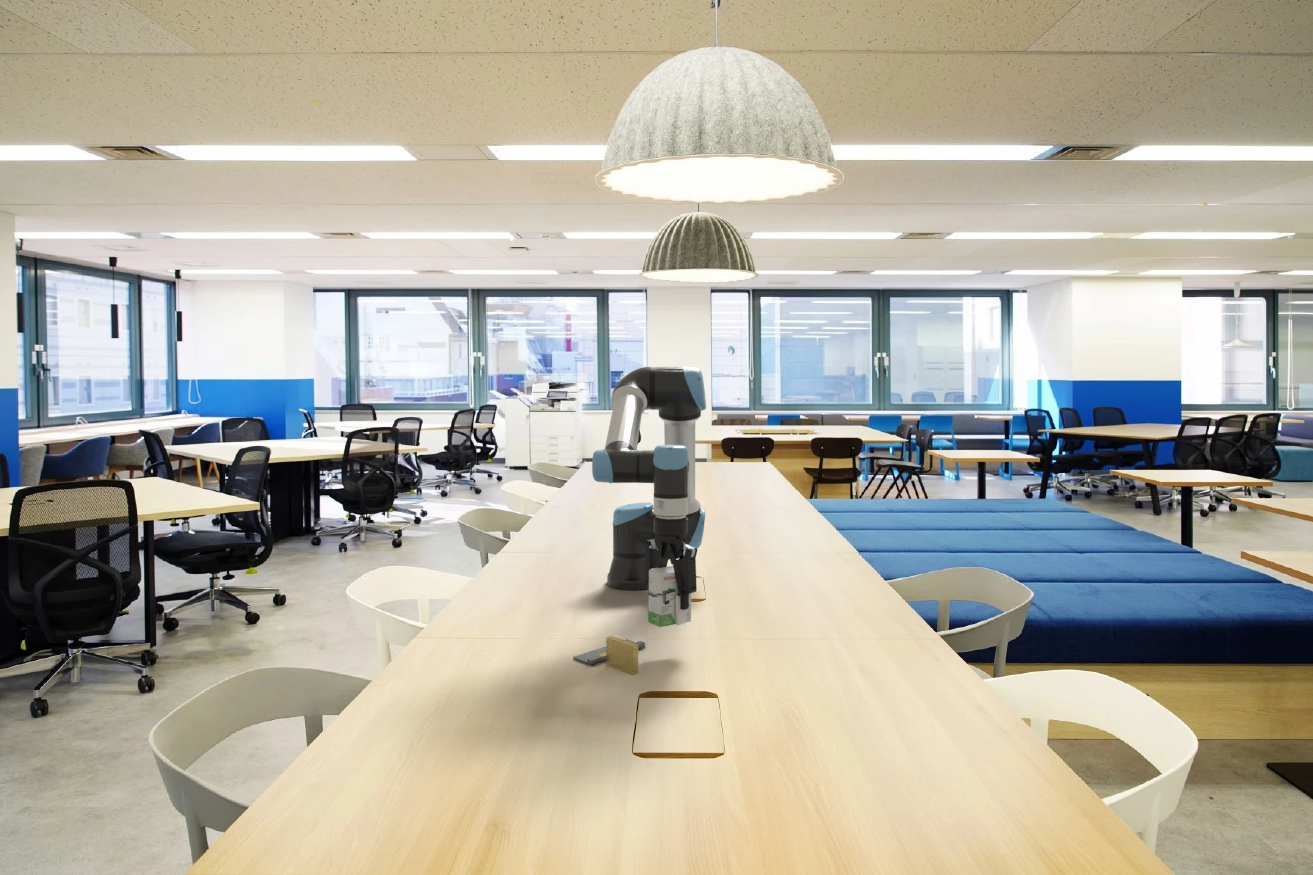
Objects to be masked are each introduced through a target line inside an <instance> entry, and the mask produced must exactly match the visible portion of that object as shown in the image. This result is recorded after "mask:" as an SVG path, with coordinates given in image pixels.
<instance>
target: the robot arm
mask: <svg viewBox="0 0 1313 875" xmlns="http://www.w3.org/2000/svg"><path fill="white" fill-rule="evenodd" d="M704 383H705V382H704V376H703V372H702V370H701V369H700V368H698V367H693V366H692V367H690V366H689V367H688V366H685V365H684V366H644V367H639V368H637V369H634V370H632V371H631V372H629V373H627V374H626V375H625V376H623V377H622V378H621V379H620V380H619V381H618V382H617V384H616V386H615V387H614V389H613V391H612V394H611V398H610V404H611V407H612V412H611V417H610V420H609V425H608V431H607V435H606V436H607V437H606V440H605V445H604V449H603V448H602V449H597V450H595V451H593V455H592V460H591V471H592V478H593V480H594V481H595V482H596V483H608V484H614V483H615V484H620V483H621V484H625V483H626V484H630V483H633V484H636V483H637V484H653V502H635V503H628V504H624V505H622V506H621V505H620V506H618V507H616V508H615V509H614V511H613V516H612V561H611V563H610V567H609V572H608V573H607V574H606V581H607V582H606V584H607V585H608V586H609V587H612V588H614V589H619V590H629V591H631V590H632V591H633V590H636V591H637V590H646V589H649V570H651V569H652V568H662V567H668V563H669V561H670V564H671V566H673V568H674V573H675V577H676V582H677V587H678V592H679V593H677V595H676V624H675V625H677V626H680V625H683V624H685V623H688V622H687V609H688V607H689V594H690V593H691V594H692V593H697V589H698V588H697V565H696V563H697V561H696V557H697V554H698V548H700V547H701V545H702V542H703V537H704V530H705V521H706V509H704V508H702V507H701V503H700V501H699V500H698V499H697V498H696V422H697V420H699V419H700V418H701V416H702V412H703V411H705V410H706V409H707V400H706V392H705V384H704ZM646 410H647V411H648V410H650V411H651V410H652V411H653V410H654V411H658V417H659V418H660V419H661V420H662V421H663V424H664V429H663V432H664V437H663V438H664V444H660V445H659V444H658V445H656V446H655V447H654V449H652V450H643V449H642V450H640V449H638V443H639V437H640V429H641V422H642V421H641V420H642V414H644V413H645V411H646ZM637 449H638V450H637Z"/></svg>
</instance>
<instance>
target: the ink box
mask: <svg viewBox="0 0 1313 875" xmlns="http://www.w3.org/2000/svg"><path fill="white" fill-rule="evenodd" d="M677 593H679V592H678V587H677V582H676V577H675V573H674V568H673V565H670V566H668V565H667V567H662V568H652V569H651V570H649V588H648V612H647V613H648V621H647V622H648V623H650V624H652V625H655V626H657V627H659V628H663V627H667V626H675V625H676V595H677ZM691 621H692V593H690V594H689V607H688V609H687V622H686V623H691Z"/></svg>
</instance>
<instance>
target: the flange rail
mask: <svg viewBox="0 0 1313 875" xmlns="http://www.w3.org/2000/svg"><path fill="white" fill-rule="evenodd" d="M605 639H606V640H605V646H602V647H600V648H596V649H593V650H591V651H586V652H584V653H581V654H578V655H575V656H573V657H572V658H573V660H574V661H576V662H580V663H582V664H586V665H588V666H589V667H594V666H596V665H600V664H603V663H605V664H606V666H607V667H610V668H612V669H616V670H618V671H621V672H623V673H626V674H630V675H631V676H634V675H637V674H639V651H640V650H643V649H646V642H645V641H643V640H638V641H634V640H633V641H632V640H631V639H626V638H625V639H622V638H619V637H616V636H614V635H608V636H606V638H605Z"/></svg>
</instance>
